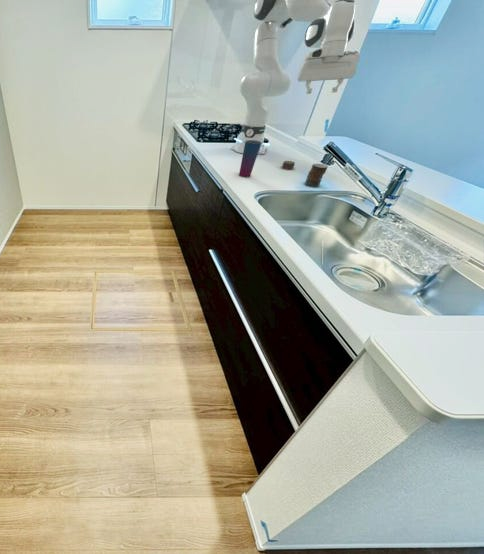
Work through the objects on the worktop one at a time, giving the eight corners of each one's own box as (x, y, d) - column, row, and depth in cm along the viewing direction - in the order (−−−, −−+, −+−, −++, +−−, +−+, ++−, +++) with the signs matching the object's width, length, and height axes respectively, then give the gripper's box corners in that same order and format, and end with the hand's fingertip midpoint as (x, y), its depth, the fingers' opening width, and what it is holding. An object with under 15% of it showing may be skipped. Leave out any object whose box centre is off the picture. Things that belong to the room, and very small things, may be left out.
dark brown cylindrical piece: (305, 181, 135) (313, 162, 129) (320, 184, 132) (328, 165, 127) (303, 185, 131) (310, 165, 126) (318, 188, 128) (326, 168, 123)
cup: (253, 178, 138) (263, 143, 129) (238, 177, 139) (246, 143, 130) (250, 173, 143) (260, 140, 134) (236, 172, 145) (244, 139, 135)
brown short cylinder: (283, 165, 154) (284, 160, 152) (294, 167, 151) (296, 161, 150) (280, 168, 150) (282, 162, 149) (291, 170, 148) (294, 164, 146)
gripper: (358, 51, 118) (346, 92, 125) (301, 56, 124) (292, 95, 130) (365, 48, 113) (353, 90, 119) (305, 53, 118) (296, 93, 124)
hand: (321, 93), depth 125 cm, fingers open, 8 cm apart
